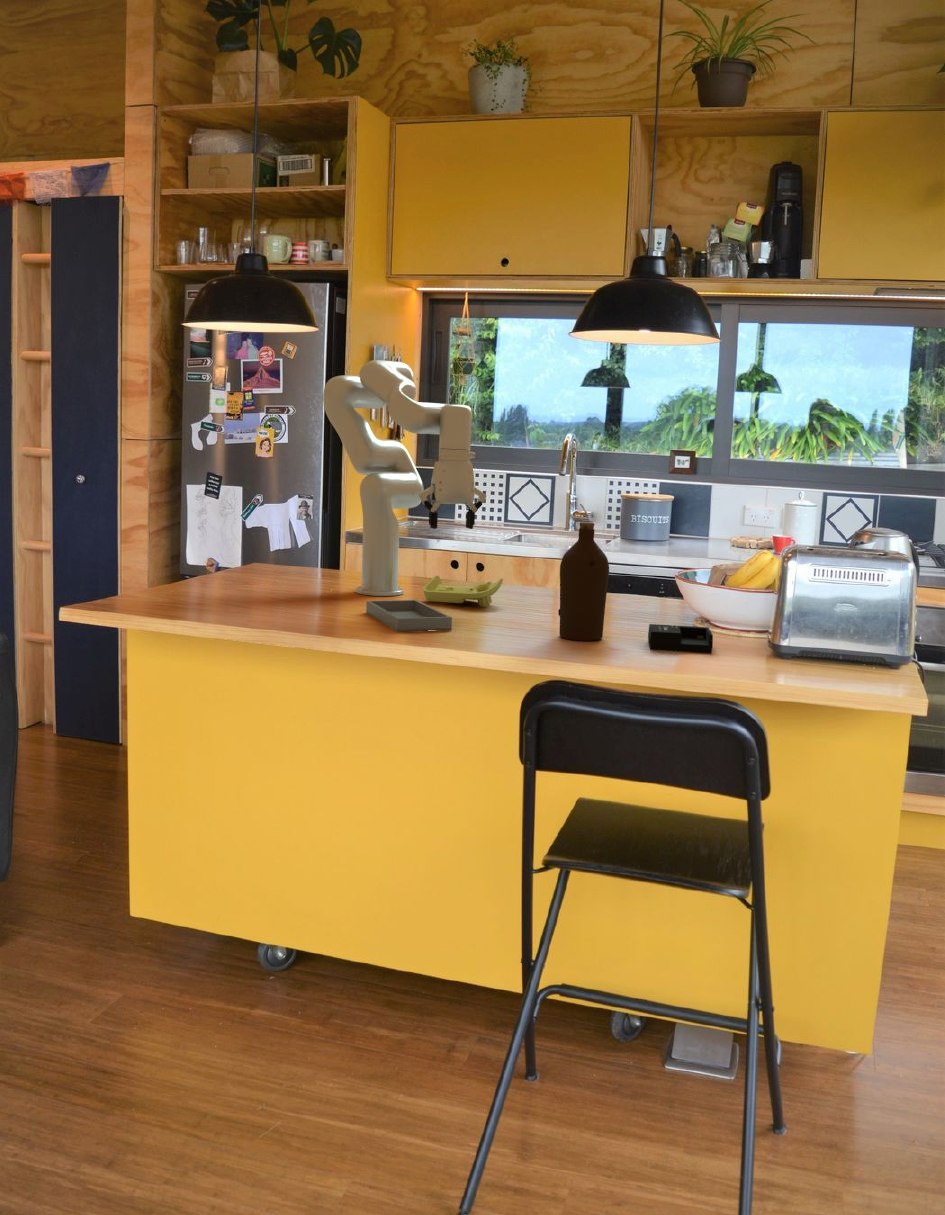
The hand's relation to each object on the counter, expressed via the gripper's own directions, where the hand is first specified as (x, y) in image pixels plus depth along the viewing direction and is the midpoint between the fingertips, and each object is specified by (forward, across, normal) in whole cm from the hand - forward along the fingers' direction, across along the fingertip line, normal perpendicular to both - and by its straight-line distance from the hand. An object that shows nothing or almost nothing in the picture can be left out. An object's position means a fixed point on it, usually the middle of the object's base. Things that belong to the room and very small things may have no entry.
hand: (451, 528), depth 276 cm
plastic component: (+20, -3, -3) cm, 20 cm away
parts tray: (+20, +16, +16) cm, 30 cm away
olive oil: (+20, -16, +40) cm, 48 cm away
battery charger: (+20, -33, +54) cm, 66 cm away
